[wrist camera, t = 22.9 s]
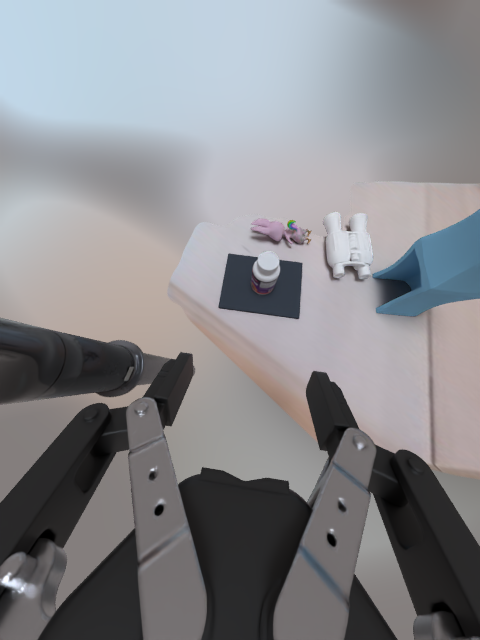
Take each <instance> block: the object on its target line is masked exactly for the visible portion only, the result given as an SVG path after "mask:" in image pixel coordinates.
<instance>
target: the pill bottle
mask: <svg viewBox="0 0 480 640" xmlns="http://www.w3.org/2000/svg"><path fill="white" fill-rule="evenodd" d="M279 273H280V266H279V257H278V256H277V254H275V253H274V252H271V251H265V252H263V253H261V254H260V255H259V257H258V260H257V261H256V262H255V263H254V265H253V271H252V279H251V286H252V289H253V290H254V291H255V292H256V293H258V294H261V295H265V294H268V293H270V292H271V291H272V290H273V288H274V286H275V284H276V281H277V279H278V276H279Z"/></svg>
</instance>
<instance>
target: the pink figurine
mask: <svg viewBox="0 0 480 640" xmlns="http://www.w3.org/2000/svg"><path fill="white" fill-rule="evenodd" d="M294 222H295V221H293V220H290V221H289V222H288V224H287V225H288V227H287V229H286V230H284V226H283V224H282V223H280V222H277V221H272V222H270V221H269V220H267V219H257V220H255V221H253V222H252V223H251V224H252V225H258V227H253V228H251V230H255V231H258V232H260V233H263V234H265V235H269V236H270V237H271V238H272V239H274V240H276V241H280V240H281V238H282V235H285V237H286V239H287V240H288V242H289V243H290V244H293V242H292V241H290V239H289V238H292V239H293V240H295V241H296V242H297V243H302V242H304V241H305V240H308V243H309V242H310V241H311V239H310V240H309V239H308V238H305V237H304V234H305V233H306V232H308V236H309V234H310V233H311V231H308V230H304V229H302V228H300V227H298V228H297V226H296V225H295V224H294ZM259 226H262V227H259ZM290 229H293V230H290ZM308 243H307V244H308Z"/></svg>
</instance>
